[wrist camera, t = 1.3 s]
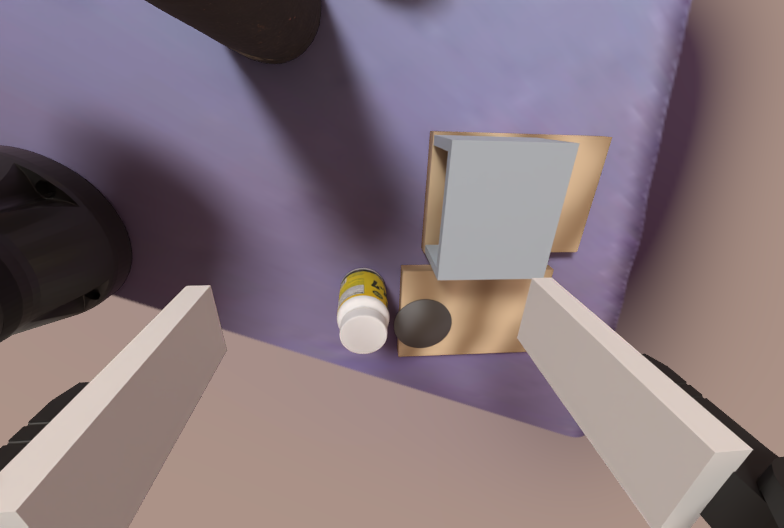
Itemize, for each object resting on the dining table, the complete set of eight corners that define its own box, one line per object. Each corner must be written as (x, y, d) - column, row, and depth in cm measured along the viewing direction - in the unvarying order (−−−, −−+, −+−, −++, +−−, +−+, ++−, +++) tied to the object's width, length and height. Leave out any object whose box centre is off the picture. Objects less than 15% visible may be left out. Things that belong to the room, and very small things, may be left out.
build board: (391, 348, 38) (392, 358, 36) (394, 265, 33) (396, 272, 31) (524, 343, 39) (531, 352, 38) (546, 263, 34) (554, 270, 33)
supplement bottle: (391, 295, 34) (400, 346, 27) (352, 311, 35) (350, 366, 27) (373, 259, 32) (378, 303, 25) (332, 276, 33) (324, 325, 25)
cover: (424, 252, 31) (437, 280, 25) (434, 134, 26) (452, 139, 21) (513, 251, 31) (543, 278, 26) (537, 137, 27) (579, 143, 22)
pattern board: (421, 247, 32) (429, 266, 28) (430, 131, 28) (442, 134, 24) (568, 246, 34) (596, 264, 30) (600, 136, 29) (639, 139, 25)
